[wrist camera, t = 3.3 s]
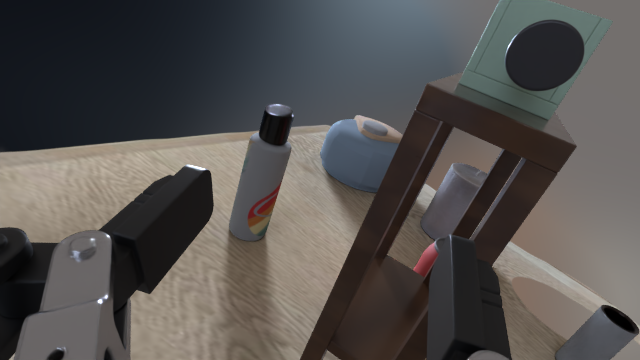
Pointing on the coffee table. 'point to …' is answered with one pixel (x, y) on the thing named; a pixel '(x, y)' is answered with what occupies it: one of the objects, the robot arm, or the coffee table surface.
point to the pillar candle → (451, 200)
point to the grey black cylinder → (599, 336)
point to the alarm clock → (359, 152)
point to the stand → (490, 237)
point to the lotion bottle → (262, 174)
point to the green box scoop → (533, 53)
